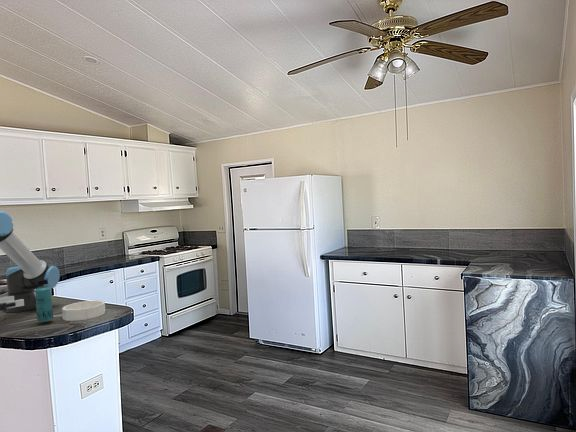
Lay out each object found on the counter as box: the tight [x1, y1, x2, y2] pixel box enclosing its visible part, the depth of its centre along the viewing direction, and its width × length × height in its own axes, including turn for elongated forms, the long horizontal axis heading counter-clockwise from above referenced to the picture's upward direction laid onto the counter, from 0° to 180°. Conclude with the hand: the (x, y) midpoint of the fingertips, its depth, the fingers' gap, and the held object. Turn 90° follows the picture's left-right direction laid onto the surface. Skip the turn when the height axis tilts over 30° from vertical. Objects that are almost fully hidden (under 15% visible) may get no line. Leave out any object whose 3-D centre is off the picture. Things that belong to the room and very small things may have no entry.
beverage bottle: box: [34, 279, 54, 323], centre depth 188 cm, size 6×7×20 cm
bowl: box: [61, 300, 106, 322], centre depth 199 cm, size 18×18×5 cm
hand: (18, 300), depth 181 cm, fingers open, 13 cm apart
